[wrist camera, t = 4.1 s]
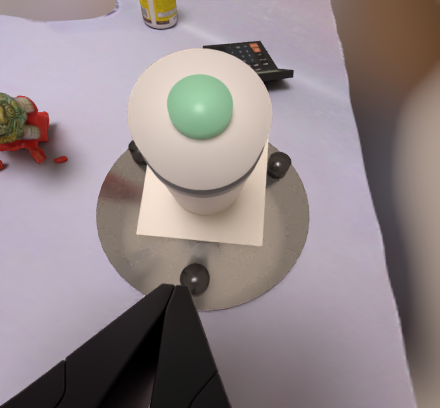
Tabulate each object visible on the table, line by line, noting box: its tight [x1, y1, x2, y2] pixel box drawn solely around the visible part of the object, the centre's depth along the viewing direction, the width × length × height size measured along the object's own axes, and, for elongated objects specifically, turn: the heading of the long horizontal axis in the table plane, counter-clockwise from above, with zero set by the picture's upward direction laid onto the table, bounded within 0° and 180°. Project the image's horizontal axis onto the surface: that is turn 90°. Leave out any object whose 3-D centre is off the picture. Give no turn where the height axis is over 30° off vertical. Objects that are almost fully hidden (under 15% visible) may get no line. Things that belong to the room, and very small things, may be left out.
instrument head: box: [127, 48, 272, 247], centre depth 15 cm, size 10×10×12 cm
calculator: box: [203, 41, 294, 81], centre depth 34 cm, size 9×12×3 cm
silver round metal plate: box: [96, 140, 309, 311], centre depth 22 cm, size 20×20×3 cm
